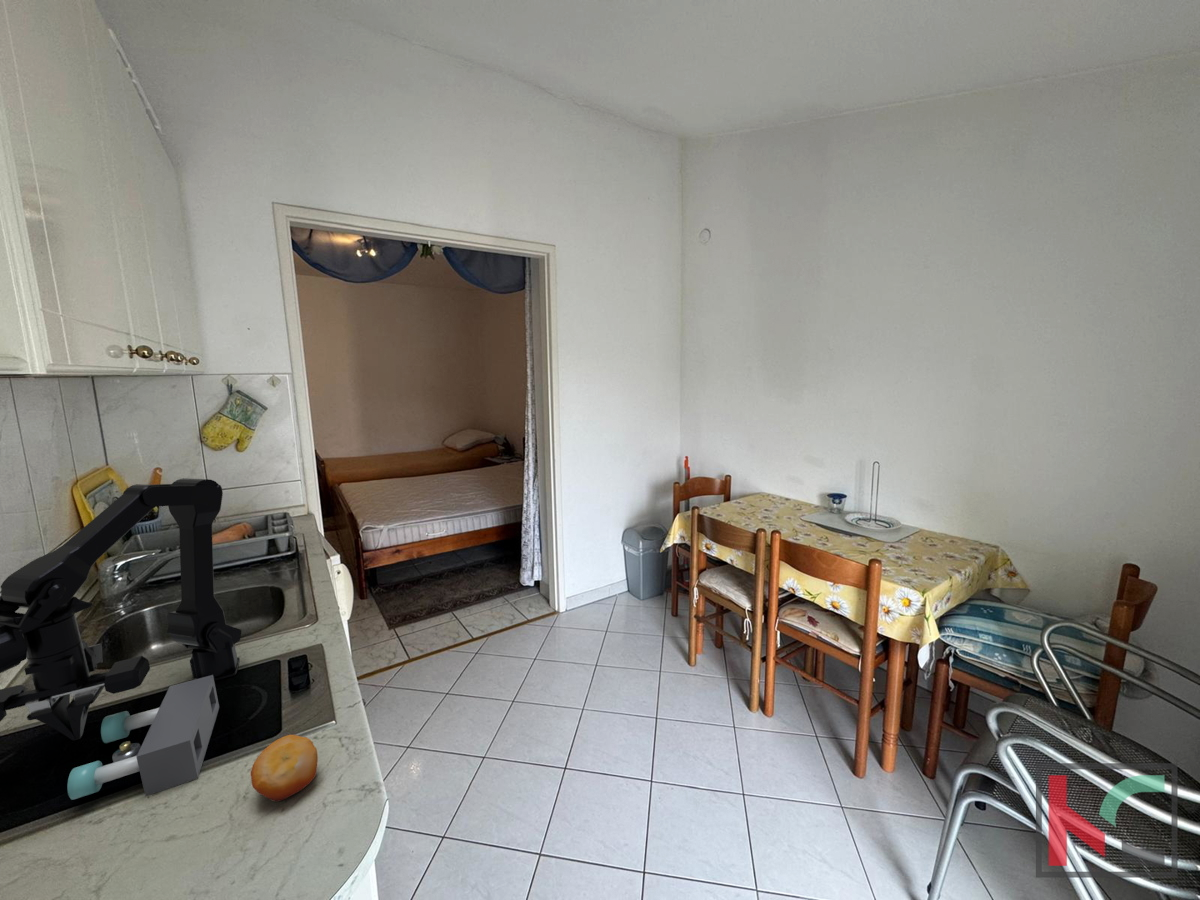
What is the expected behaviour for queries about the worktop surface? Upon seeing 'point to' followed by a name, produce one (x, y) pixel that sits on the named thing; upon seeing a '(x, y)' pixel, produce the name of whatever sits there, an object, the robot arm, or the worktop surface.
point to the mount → (179, 735)
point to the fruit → (284, 767)
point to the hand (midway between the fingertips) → (78, 737)
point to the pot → (126, 751)
